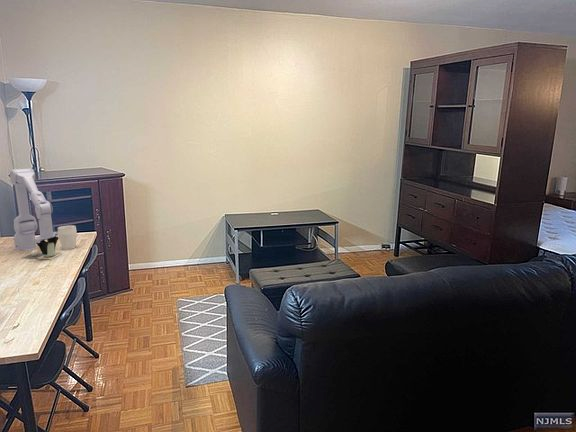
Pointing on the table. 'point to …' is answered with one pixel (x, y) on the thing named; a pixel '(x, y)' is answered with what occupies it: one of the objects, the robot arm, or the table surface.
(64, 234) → the cup
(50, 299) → the table surface
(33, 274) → the table surface
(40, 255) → the mat
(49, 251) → the sage cup
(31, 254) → the marble
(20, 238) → the robot arm
